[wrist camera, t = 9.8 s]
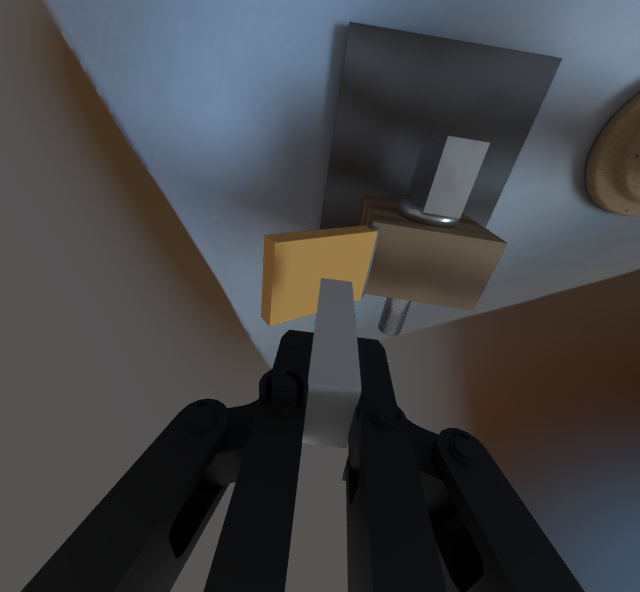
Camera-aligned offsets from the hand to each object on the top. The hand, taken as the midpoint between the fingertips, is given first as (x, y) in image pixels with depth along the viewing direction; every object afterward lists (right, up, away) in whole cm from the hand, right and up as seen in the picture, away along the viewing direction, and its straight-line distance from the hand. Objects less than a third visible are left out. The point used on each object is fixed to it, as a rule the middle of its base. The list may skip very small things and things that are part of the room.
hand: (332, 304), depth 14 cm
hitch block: (+9, +12, +16) cm, 22 cm away
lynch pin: (+8, +6, +14) cm, 17 cm away
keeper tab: (-1, +2, +6) cm, 6 cm away
